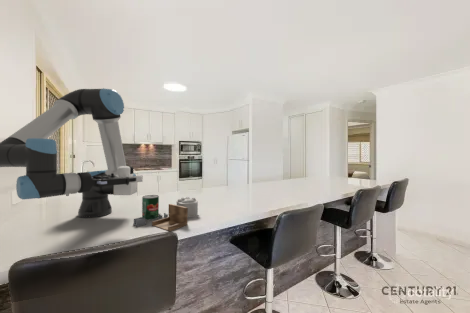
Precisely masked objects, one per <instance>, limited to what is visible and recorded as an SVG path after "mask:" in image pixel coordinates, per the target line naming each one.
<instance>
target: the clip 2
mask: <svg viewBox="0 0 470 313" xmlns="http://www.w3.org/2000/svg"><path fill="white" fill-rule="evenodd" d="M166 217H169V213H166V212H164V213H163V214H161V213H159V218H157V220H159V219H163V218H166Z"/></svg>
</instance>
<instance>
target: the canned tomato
mask: <svg viewBox="0 0 470 313" xmlns="http://www.w3.org/2000/svg"><path fill="white" fill-rule="evenodd" d="M141 202H142V203H141V204H142V205H141V217H143V218H145V221H155V220H158V218H159V214H160V212H159V203H160V196H159V194H148V195H143V196H142V197H141Z"/></svg>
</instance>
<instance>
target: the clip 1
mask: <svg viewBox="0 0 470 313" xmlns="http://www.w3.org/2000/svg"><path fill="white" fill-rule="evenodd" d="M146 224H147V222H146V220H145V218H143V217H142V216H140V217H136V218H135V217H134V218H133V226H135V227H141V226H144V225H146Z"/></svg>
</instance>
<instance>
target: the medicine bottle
mask: <svg viewBox="0 0 470 313" xmlns="http://www.w3.org/2000/svg"><path fill="white" fill-rule="evenodd" d="M133 173H134V167H133V166H131V165H126V166H120V167H118V176H119V177H129V176H133ZM119 177H117V178H119ZM137 192H138V182H135V183H129V184H128V185H127V184H122V185H113V195H112V196H133V195H135V194H136V193H137Z"/></svg>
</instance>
